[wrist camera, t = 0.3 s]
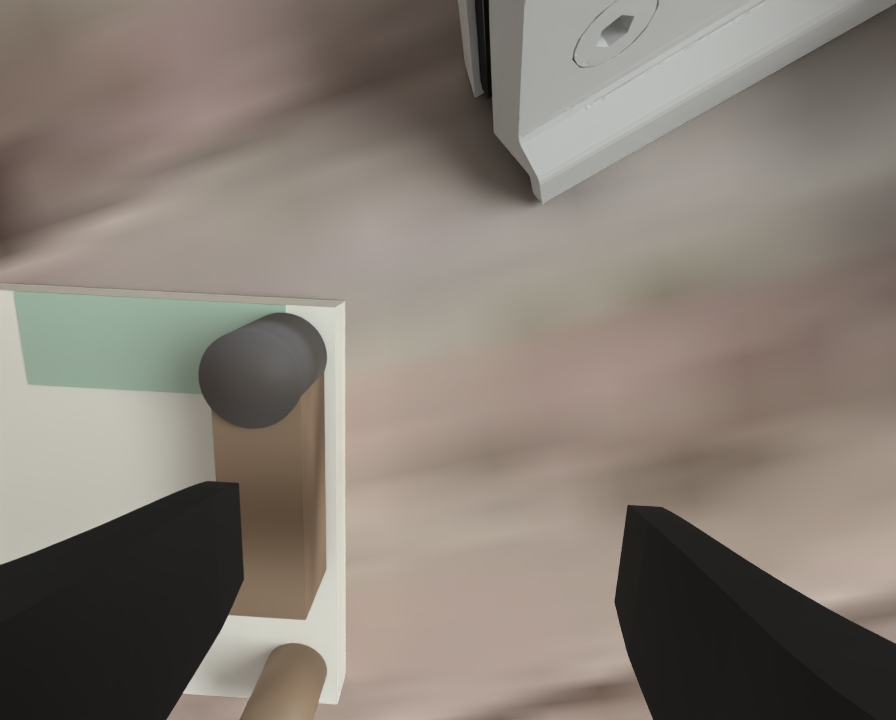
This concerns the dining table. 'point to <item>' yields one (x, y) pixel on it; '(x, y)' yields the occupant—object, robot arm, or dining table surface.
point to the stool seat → (158, 455)
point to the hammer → (272, 456)
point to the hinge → (627, 69)
